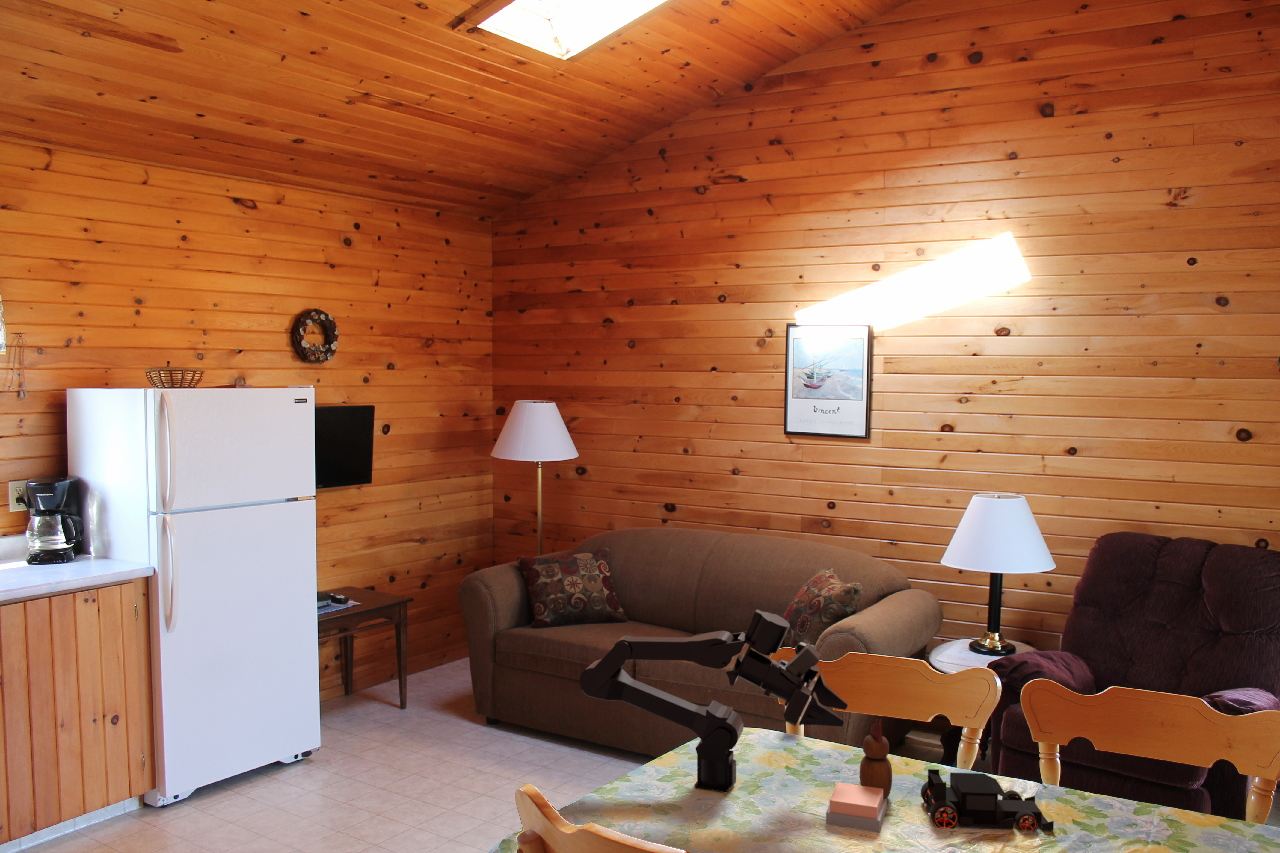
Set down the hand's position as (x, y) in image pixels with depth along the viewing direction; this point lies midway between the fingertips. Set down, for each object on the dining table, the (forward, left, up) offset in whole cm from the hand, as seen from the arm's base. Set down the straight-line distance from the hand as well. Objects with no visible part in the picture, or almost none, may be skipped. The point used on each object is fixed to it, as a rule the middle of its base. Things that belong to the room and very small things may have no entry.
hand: (845, 715), depth 174 cm
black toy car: (+24, +2, -16) cm, 29 cm away
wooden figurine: (+5, +3, -16) cm, 17 cm away
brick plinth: (+3, -7, -15) cm, 17 cm away
